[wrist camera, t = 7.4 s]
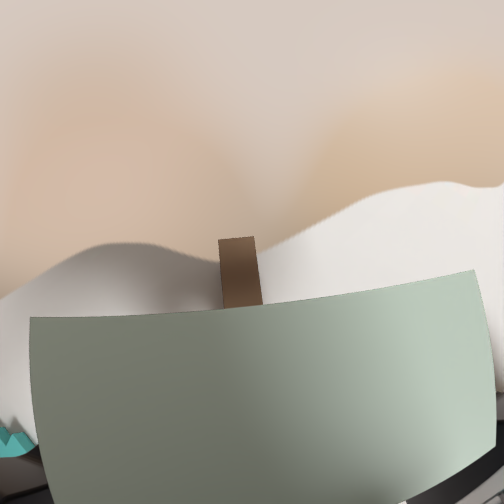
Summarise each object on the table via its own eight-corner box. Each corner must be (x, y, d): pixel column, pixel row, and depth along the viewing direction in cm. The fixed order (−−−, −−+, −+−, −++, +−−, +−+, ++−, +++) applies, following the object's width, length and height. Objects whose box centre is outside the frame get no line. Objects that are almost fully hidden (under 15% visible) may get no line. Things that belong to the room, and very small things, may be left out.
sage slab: (312, 398, 14) (495, 445, 2) (195, 411, 14) (59, 514, 2) (305, 347, 15) (474, 268, 3) (190, 360, 15) (30, 316, 3)
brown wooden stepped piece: (279, 479, 16) (288, 505, 11) (248, 483, 15) (250, 510, 11) (251, 262, 22) (253, 236, 18) (222, 265, 22) (218, 239, 18)
